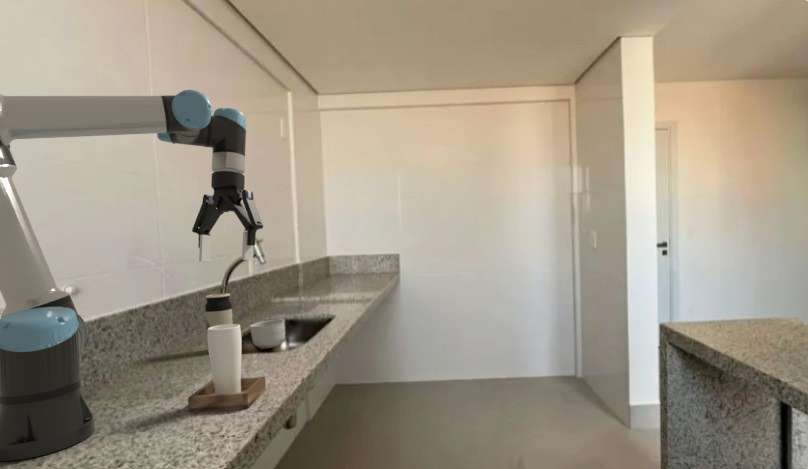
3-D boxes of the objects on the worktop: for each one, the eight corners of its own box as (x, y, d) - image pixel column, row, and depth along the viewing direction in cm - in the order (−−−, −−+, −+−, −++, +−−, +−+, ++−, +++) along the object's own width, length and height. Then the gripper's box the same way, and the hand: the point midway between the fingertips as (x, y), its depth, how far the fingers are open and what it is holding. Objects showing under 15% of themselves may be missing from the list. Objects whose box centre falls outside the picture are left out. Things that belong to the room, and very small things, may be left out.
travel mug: (234, 346, 158) (230, 292, 158) (234, 351, 150) (230, 294, 151) (208, 349, 155) (205, 295, 155) (207, 354, 148) (203, 297, 148)
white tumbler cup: (233, 402, 97) (229, 329, 97) (204, 401, 98) (200, 330, 99) (250, 391, 104) (246, 323, 104) (223, 391, 105) (219, 324, 105)
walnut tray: (188, 412, 95) (188, 397, 95) (213, 393, 107) (212, 379, 107) (248, 408, 95) (247, 393, 95) (265, 389, 107) (264, 376, 107)
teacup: (277, 350, 148) (275, 324, 148) (245, 351, 150) (243, 325, 150) (294, 340, 162) (293, 317, 162) (264, 341, 163) (263, 318, 163)
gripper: (279, 171, 112) (277, 259, 110) (203, 181, 123) (200, 263, 120) (257, 163, 106) (255, 258, 103) (178, 175, 116) (175, 261, 114)
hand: (225, 261), depth 112 cm, fingers open, 13 cm apart
